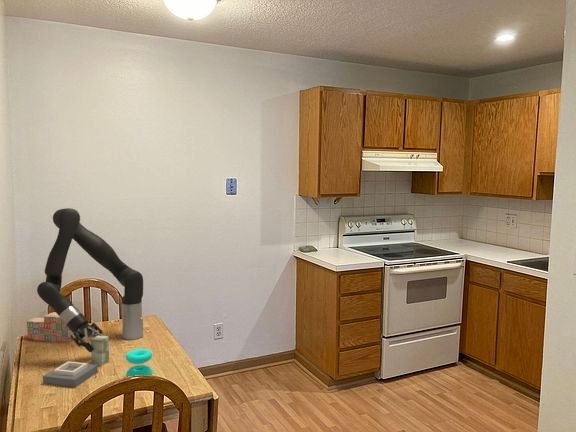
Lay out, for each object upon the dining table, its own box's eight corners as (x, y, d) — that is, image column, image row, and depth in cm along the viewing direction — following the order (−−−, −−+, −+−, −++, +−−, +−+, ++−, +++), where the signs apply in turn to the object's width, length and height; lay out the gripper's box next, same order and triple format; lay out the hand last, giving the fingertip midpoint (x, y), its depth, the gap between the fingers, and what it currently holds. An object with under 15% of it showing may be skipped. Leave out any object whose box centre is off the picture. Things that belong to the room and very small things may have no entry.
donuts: (141, 358, 182) (120, 355, 185) (142, 383, 183) (120, 379, 186) (157, 349, 191) (136, 346, 194) (157, 373, 192) (137, 369, 195)
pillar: (98, 360, 205) (97, 335, 204) (109, 361, 204) (108, 336, 202) (91, 364, 200) (90, 339, 199) (102, 366, 199) (101, 340, 198)
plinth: (67, 368, 195) (66, 358, 195) (97, 372, 193) (97, 361, 192) (43, 383, 182) (42, 372, 181) (75, 387, 179) (75, 375, 178)
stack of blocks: (27, 340, 228) (26, 314, 227) (36, 335, 234) (35, 311, 233) (68, 343, 225) (67, 317, 224) (76, 338, 231) (75, 313, 230)
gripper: (67, 318, 195) (93, 347, 193) (89, 308, 208) (113, 336, 207) (56, 329, 196) (82, 359, 195) (78, 319, 210) (102, 346, 209)
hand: (98, 347), depth 201 cm, fingers open, 8 cm apart
